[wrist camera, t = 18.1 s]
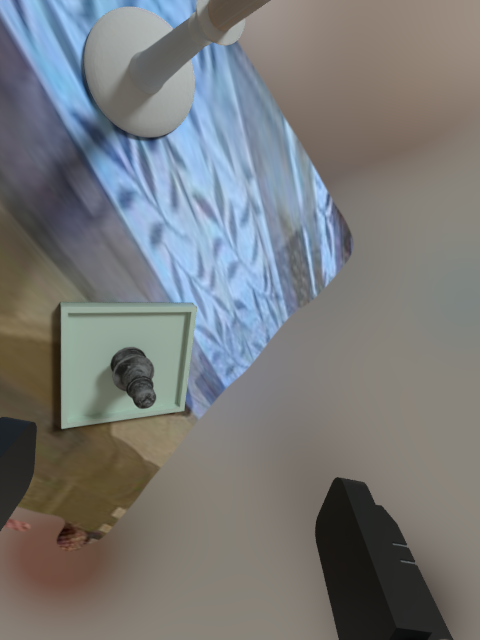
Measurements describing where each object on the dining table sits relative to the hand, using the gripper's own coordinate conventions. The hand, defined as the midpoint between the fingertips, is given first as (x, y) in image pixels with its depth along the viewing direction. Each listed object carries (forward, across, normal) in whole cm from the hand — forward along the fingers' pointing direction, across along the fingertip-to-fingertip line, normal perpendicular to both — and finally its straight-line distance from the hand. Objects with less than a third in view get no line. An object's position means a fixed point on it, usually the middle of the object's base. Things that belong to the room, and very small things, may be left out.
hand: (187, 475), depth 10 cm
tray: (+42, -10, -21) cm, 48 cm away
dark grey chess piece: (+42, -10, -21) cm, 48 cm away
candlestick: (+43, -14, +16) cm, 48 cm away
